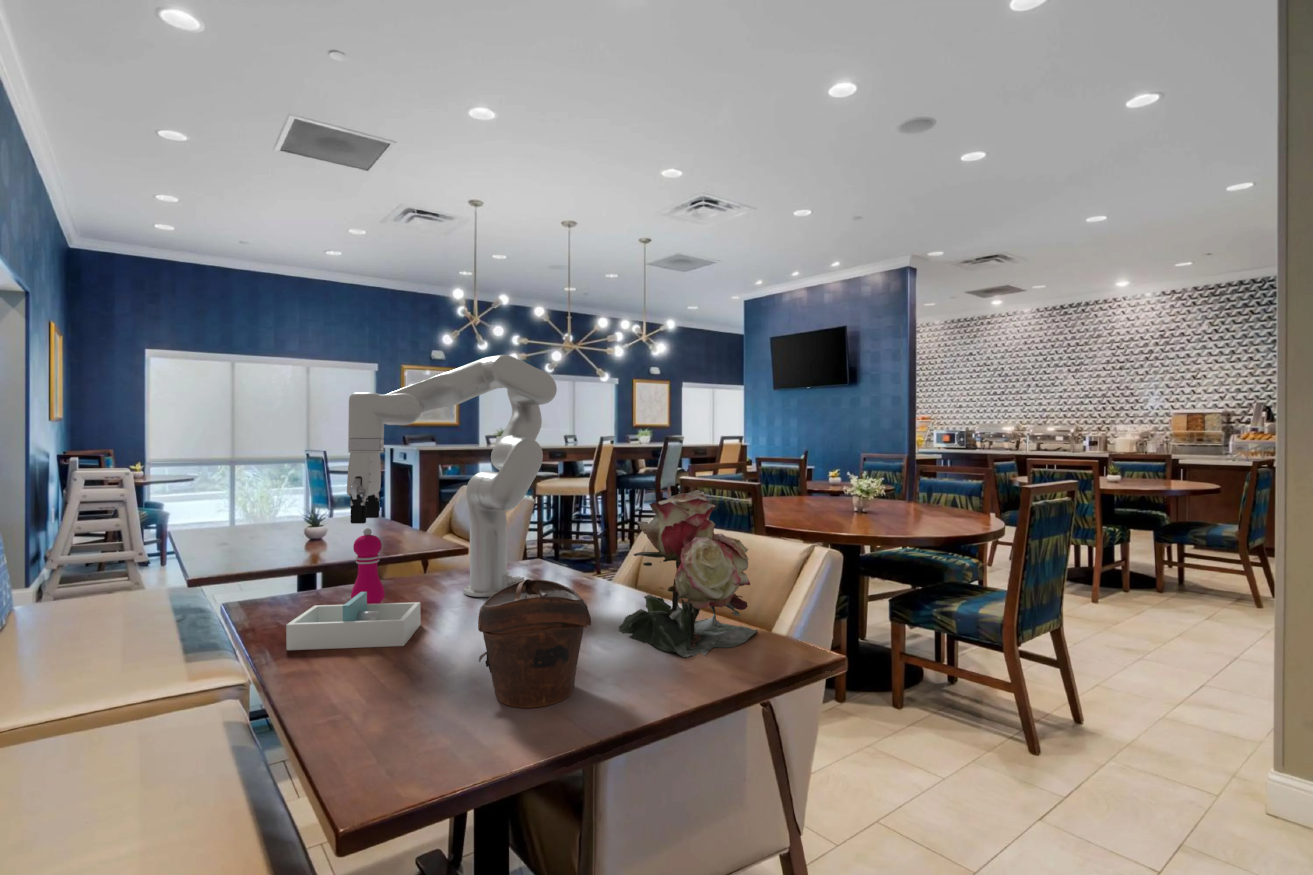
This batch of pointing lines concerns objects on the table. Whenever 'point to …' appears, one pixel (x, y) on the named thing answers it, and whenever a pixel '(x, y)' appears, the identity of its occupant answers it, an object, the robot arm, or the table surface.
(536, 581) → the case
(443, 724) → the table surface
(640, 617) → the rose bouquet
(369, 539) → the pepper mill
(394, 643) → the white tray
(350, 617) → the pusher
